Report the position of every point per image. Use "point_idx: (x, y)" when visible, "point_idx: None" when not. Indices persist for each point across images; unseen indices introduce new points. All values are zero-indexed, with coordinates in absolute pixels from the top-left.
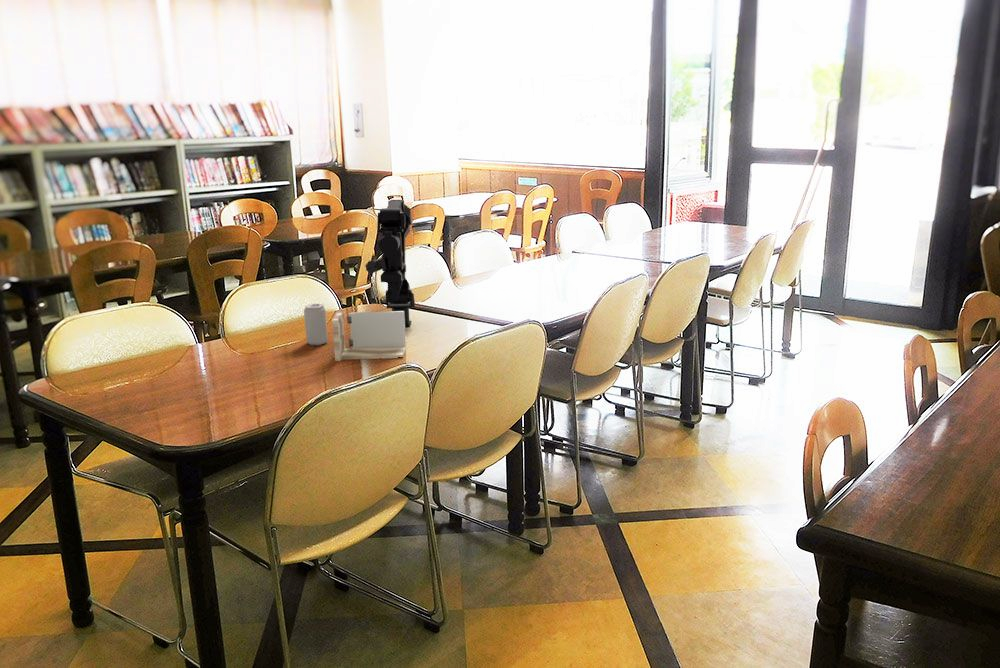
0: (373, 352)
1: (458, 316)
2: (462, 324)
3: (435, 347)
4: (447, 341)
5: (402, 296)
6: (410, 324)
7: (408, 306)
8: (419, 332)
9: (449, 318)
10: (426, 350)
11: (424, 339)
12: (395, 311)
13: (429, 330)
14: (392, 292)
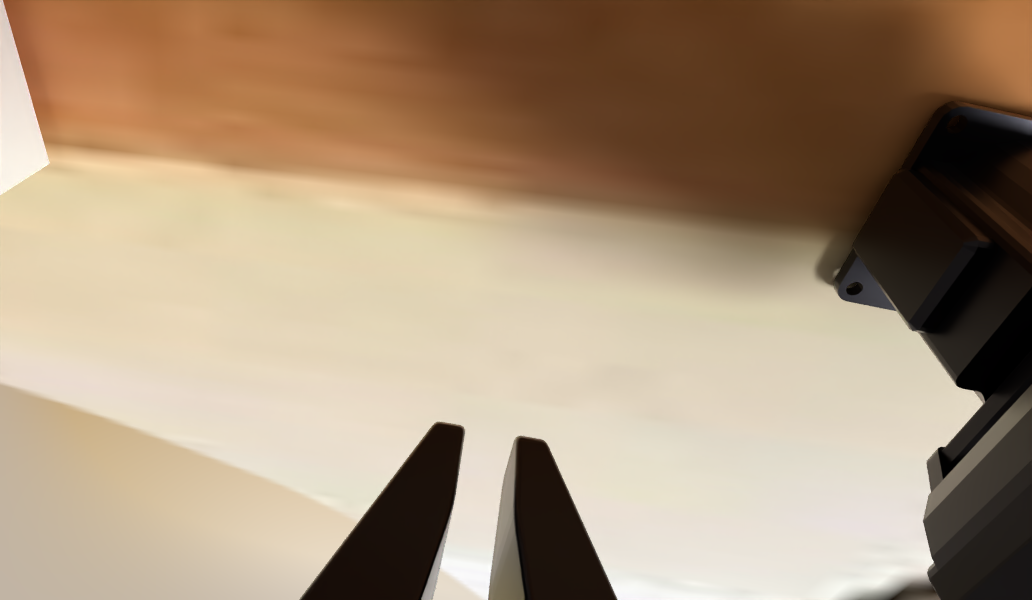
0: None
1: (931, 595)
2: (699, 576)
3: (115, 363)
4: (279, 447)
5: (997, 537)
6: (883, 306)
7: (963, 445)
8: (596, 330)
9: (917, 552)
10: (20, 298)
11: (355, 332)
12: None
13: (630, 401)
14: (329, 578)
